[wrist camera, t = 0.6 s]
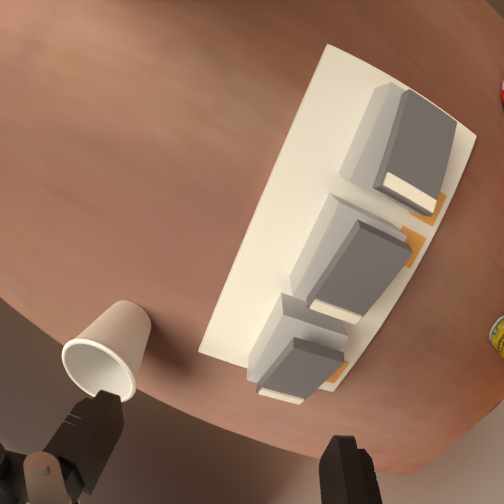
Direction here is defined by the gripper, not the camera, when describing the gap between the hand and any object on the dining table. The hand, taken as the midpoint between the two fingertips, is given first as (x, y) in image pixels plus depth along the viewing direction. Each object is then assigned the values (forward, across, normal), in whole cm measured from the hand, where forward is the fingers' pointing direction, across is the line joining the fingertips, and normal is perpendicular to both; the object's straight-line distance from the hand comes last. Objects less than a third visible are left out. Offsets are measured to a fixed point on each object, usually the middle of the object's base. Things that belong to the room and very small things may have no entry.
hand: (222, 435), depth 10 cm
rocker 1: (+16, -6, +9) cm, 19 cm away
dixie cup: (+23, +14, +11) cm, 29 cm away
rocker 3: (+15, -11, -13) cm, 22 cm away
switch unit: (+23, -8, -2) cm, 24 cm away
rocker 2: (+15, -8, -2) cm, 18 cm away
